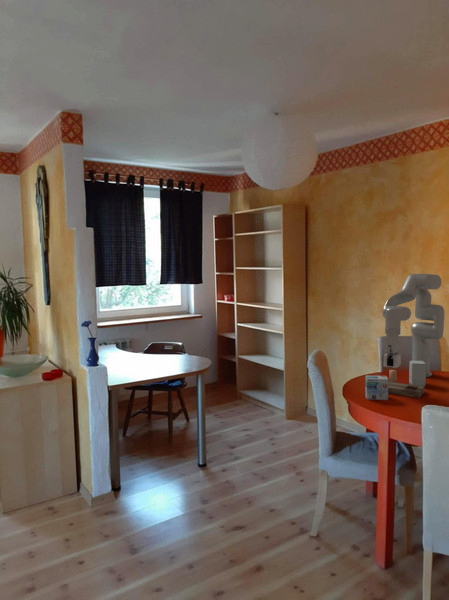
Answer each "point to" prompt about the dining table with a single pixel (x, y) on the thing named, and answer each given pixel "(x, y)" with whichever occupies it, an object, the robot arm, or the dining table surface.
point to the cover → (395, 360)
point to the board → (405, 389)
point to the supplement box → (417, 373)
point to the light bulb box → (376, 387)
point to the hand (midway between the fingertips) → (392, 364)
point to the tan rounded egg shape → (392, 376)
